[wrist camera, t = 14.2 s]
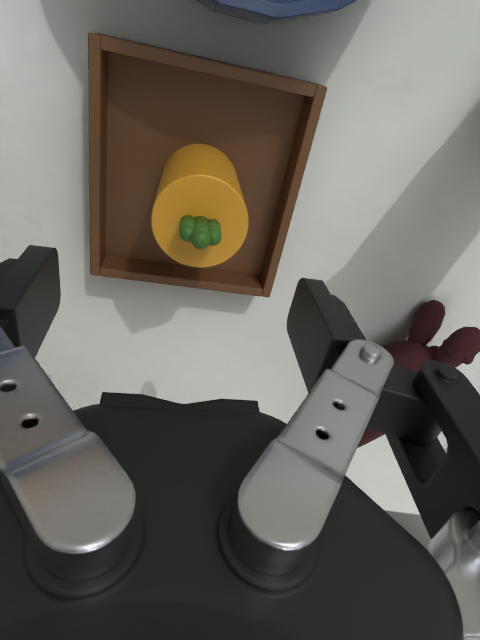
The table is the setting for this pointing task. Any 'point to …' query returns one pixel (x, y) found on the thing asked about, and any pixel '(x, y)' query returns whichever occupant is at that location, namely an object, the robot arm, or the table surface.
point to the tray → (185, 129)
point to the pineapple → (199, 207)
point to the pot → (275, 8)
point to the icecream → (416, 351)
